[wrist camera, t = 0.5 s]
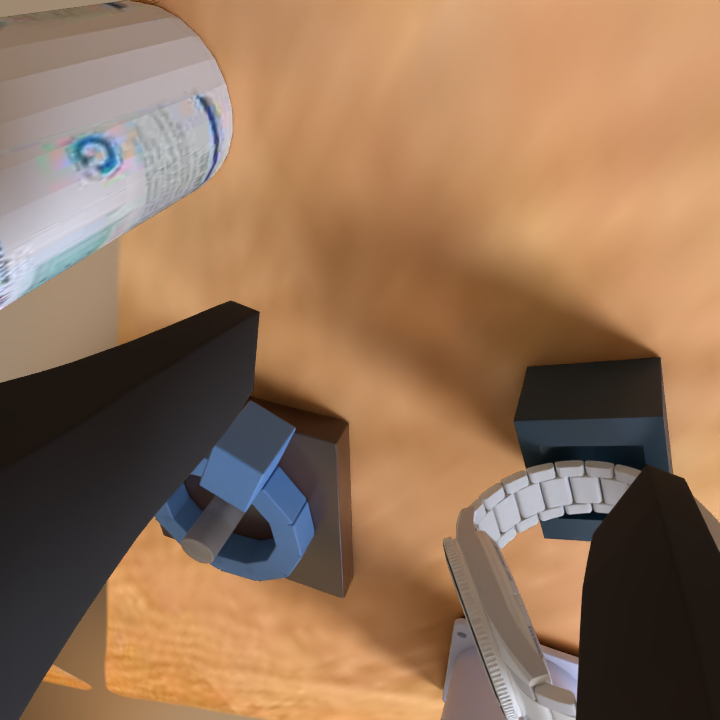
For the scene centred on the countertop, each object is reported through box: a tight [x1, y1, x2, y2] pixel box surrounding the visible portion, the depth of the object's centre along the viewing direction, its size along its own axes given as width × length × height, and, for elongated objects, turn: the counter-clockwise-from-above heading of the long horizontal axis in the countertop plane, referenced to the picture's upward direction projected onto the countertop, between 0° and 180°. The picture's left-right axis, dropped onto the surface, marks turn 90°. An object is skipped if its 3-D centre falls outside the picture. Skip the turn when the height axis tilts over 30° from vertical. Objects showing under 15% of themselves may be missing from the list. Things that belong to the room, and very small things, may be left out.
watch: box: [443, 357, 720, 720], centre depth 17 cm, size 6×8×11 cm
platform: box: [160, 397, 353, 598], centre depth 30 cm, size 12×12×5 cm
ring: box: [154, 400, 314, 581], centre depth 28 cm, size 12×9×3 cm
